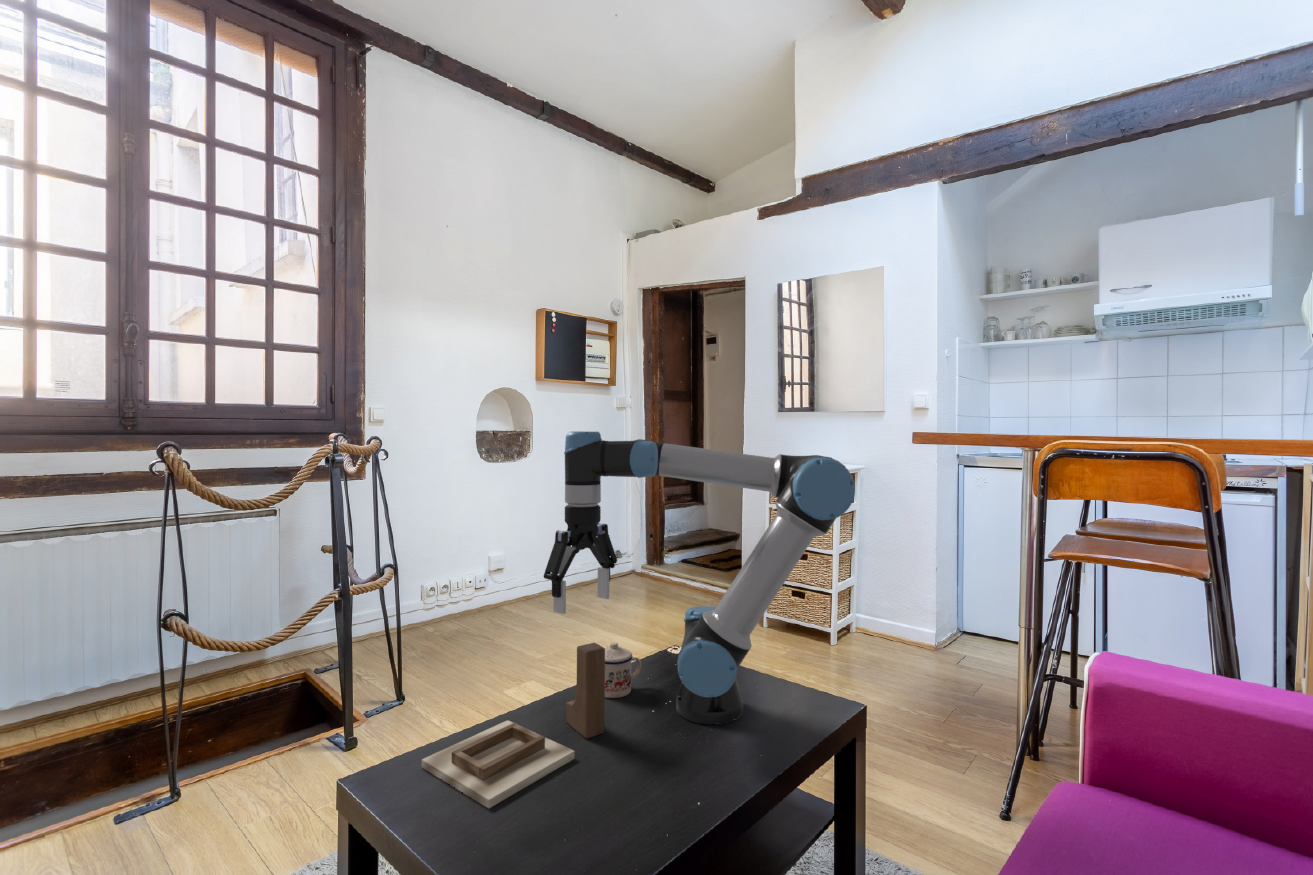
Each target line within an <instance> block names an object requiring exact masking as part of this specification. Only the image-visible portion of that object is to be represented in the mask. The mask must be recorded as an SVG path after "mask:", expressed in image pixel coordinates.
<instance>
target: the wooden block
mask: <svg viewBox="0 0 1313 875" xmlns="http://www.w3.org/2000/svg"><path fill="white" fill-rule="evenodd" d="M605 648H606V647H603V646H602V645H600V644H598V643H596V642H591V643H587V644H582V645H581V644H580V645H578V646H577V647H576V694H575V699H573V700H570V701H567V702H566V703H565V722H566V724H567V725H568V726H570V727H571V728H573V730H575V731H576V732H577V733H579V734H580V735H581V736H582V737H584V738H585V739H590V738H593V737H596V736H599V735H601V734H604V733H605V698H606V697H605Z"/></svg>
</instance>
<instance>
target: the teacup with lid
mask: <svg viewBox="0 0 1313 875" xmlns="http://www.w3.org/2000/svg"><path fill="white" fill-rule="evenodd" d="M604 648H605V697H604V698H605V699H606V698H607V699H618V698H619V699H620V698H623V697H626V696H628V695H629V694H630V693H631V691H632V679H633V678H636V677H637V676H638V675H639V674H640V672H641V668H642V661H641V659H640V658H639V657H637V656H633V654H632V651H630V650H629V649H627V648H624V647H621V646H619V643H618V642H614V641H613V642H610V643H609V646H606V647H604ZM634 661H636V663H637V664H636V668H635V670H634V671H633V672H632V662H634Z"/></svg>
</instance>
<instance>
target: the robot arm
mask: <svg viewBox="0 0 1313 875" xmlns="http://www.w3.org/2000/svg"><path fill="white" fill-rule="evenodd" d="M564 443H565V444H564V452H563V455H564V480H565V481H564V503H565V504H566V505H565V506H564V522H565V524H566V525H567V528H566V531H564V530H559V529H558V530H556V531H555V534H554V535H555V536H554V544H553V546H552V550H551V552H550V555H549V559H548V561H547V564H546V567H545V571H544V573H543V578H544V579H545V580H549V581H551V596H552V597H553V612H554V613H557V614H560V615H564V614H566V613H567V582H566V580H564V578H565V576H566V575H567V572H568V571H569V568H570V566H571V564H572V562H573V560H575V559H574V558H575V556H576V554H578V553H580V551H582V550H585V549H589V551H591V553H592V555H593V556H594V558H595V559H596V561H597V562H598V564H599V566H600V567H597V598H600V599H605V600H608V599H610V582H611V569H614V568H615V566H616V565H615V564H617V562H618V558H617V555H616V552H615V549H614V547H613V546H614V545H613V543H612V540H611V537H610V535H609V525H608V524H606V523H601V511H602V510H601V506H600V505H599V504H600V503H601V500H602V493H601V492H602V489H601V487H602V486H601V485H602V484H601V483H602V481H601V480H602V479H601V477H616V478H617V477H618V478H619V477H620V478H639V479H641V478H649V477H652V478H653V477H654V476H660V477H666V478H674V479H675V478H676V479H680V480H687V481H693V482H701V483H706V484H707V483H708V484H714V485H721V486H726V487H727V486H728V487H736V488H742V489H748V490H755V491H762V492H763V491H764V492H768V493H770V494H771V495H772V497H774V498H776V500H775V502H774V503H775V506H776V507H775V508H776V514H775V516H774V518H773V519H772V521H771V522H770V524H769V525H768V527H767V529H766V530H765V531H764V533H763V534H762V536H761V537H760V539H759V540H758V542H757V544H756V545H755V546H754V548H753V550H752V551H751V553H750V555H749V556H748V557H747V558H746V561H745V563H744V564H743V565H742V566H741V569H740V570H739V571H738V572H737V574H736V576H735V577H734V579H733V581H732V583H730V586H729V587H728V588H727V589H726V591H725V593H724V594H723V595H722V598H721V599H720V600H719V602H718V604H717V605H716V606H710V605H709V606H708V605H707V606H706V605H705V606H702V605H701V606H693V607H689V608H687V609H686V610H685V614H684V619H683V621H684V636H683V640H682V644H681V645H680V646H681V648H680V651H679V652H678V655H677V656H678V657H677V659H676V664H677V673H678V677H679V679H680V681H681V684H680V686H679V690H678V692H677V696H676V699H675V700H676V701H675V702H676V703H675V704H676V705H675V706H676V707H675V708H676V711H677V713H678V715H679V716H681V717H682V718H684V719H685V720H688V721H690V722H693V723H697V724H701V723H704V724H703V725H712V724H715V725H717V724H716V723H725V724H727V723H726V722H729V721H732V720H733V719H737V718H738V717H739V716H740V715H741V714H742V712H743V713H744V701H743V700H744V699H743V697H742V694H741V691H740V687H739V683H738V681H737V675H738V669H739V666H740V665H741V664H742V662H743V661H744V659H745V658H746V656H747V655H748V653H749V651H750V650H751V648H752V647H753V646H752V641H751V635H752V633H753V631H754V630H755V628H756V627H757V625H758V623H759V622H760V621H761V619H762V618H763V616H764V614H765V612H766V611H767V610H768V609H769V606H770V605H771V604H772V602H773V601H774V599H775V598H776V596H777V594H778V593H779V591H780V590H781V588H782V587H783V585H785V582H786V581H787V579H788V578H789V576H790V575H791V573H792V572H793V570H794V569H795V567H796V566H797V563H798V562H799V561H800V559H801V558H802V557H803V555H804V553H805V552H806V550H807V548H808V547H809V546H810V545H811V542H812V541H813V540H814V538H816V537H821V536H825V535H826V534H828V533H827V532H829V530H830V529H831V527H832V526H833V524H834V522H835V521H836V519H838V518H839V517H841V516H842V515H844V514H845V513H846V512H847V511H848V510H849V508H850V507H851V506H852V504H853V501H854V499H855V494H856V487H855V486H856V485H855V481H854V477H853V476H852V474H851V473H850V472H851V471H849V469H848V468H847V467H846V465H844V463H841V462H840V461H839V460H838V459H835V458H833V457H829V456H824V455H819V454H815V455H813V454H812V455H789V454H788V455H787V454H781V453H779V454H778V455H776V456H775V457H770V456H762V455H755V454H748V453H739V452H731V451H724V450H717V449H709V448H702V447H695V446H688V445H687V446H686V445H682V444H681V445H679V444H673V443H671V444H670V443H663V442H657V441H650V440H647V439H640V438H639V439H634V440H603V439H602V434H601V433H600V431H582V430H581V431H569V432H567V434H566V435H565V442H564ZM742 715H743V714H742ZM742 715H741V716H742ZM738 719H739V718H738ZM738 719H737V720H738ZM732 722H733V721H732ZM729 723H730V722H729Z"/></svg>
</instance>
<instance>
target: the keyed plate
mask: <svg viewBox="0 0 1313 875" xmlns="http://www.w3.org/2000/svg"><path fill="white" fill-rule="evenodd" d="M575 754H576V752H575V750H573V749H572V748H569V747H568V746H565V745H564V744H563V745H562V744H560V743H558V742H557V741H554V740H551V739H550V738H547V737H545V736H543V735H541V734H538V733H537V732H535V731H532V730H530V729H528V728H526V727H524V726H521V725H519V724H518V723H515V722H513V721H510V720H509V719H508V720H505V721H502V722H500V723H498V724H496V725H494V726H491V727H490V728H487V729H485V730H483V731H481V732H478V733H476V734H474V735H472V736H470V737H468V738H466V739H464V740H461V741H458V742H457V743H455V744H452V745H450V746H447V747H446V748H443V749H441V750H439V751H437V752H434V753H433V754H431V755H429V756H426V757H424V758H422V759H421V768H422V769H423V770H425V771H427V772H428V773H430V774H432V775H433V776H435V777H437V778H438V779H440V780H441V779H442V780H441V781H442V782H445V783H446V784H448V785H449V784H450V786H451V787H453V788H454V787H455V788H454V789H456V790H457V791H459V792H460V793H462V792H463V794H464V795H466V796H467V797H469V798H470V797H471V798H470V799H472V800H474V801H476V802H477V803H479V804H480V805H482V806H483V807H486V808H487V809H488V810H489V809H491V808H493V807H494V806H496V805H497V804H499V803H501V802H503V801H505V800H506V799H507V798H509V797H511V796H513V795H515V794H516V793H518V792H520V791H522V790H523V789H525V788H527V787H529V786H530V785H532V784H534V783H536V782H537V781H538V780H541V779H542V778H544V777H546V776H548V775H549V774H550V773H552V772H554V771H556V770H558V769H559V768H561V767H563V766H564V765H566V764H568V763H570V762H572V761H573V760H575Z"/></svg>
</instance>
